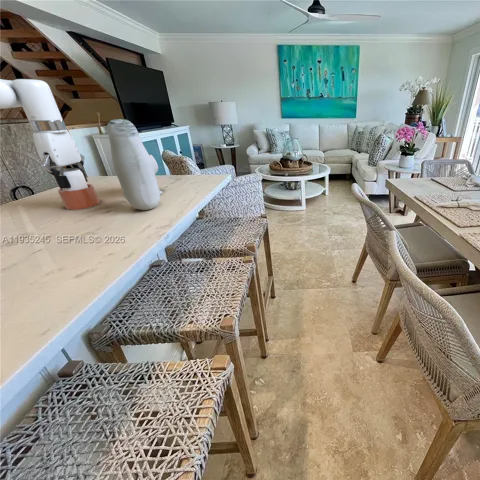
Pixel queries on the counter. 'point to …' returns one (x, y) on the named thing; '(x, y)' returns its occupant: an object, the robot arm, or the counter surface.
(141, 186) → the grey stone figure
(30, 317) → the counter surface
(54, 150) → the robot arm
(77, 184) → the can
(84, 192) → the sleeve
